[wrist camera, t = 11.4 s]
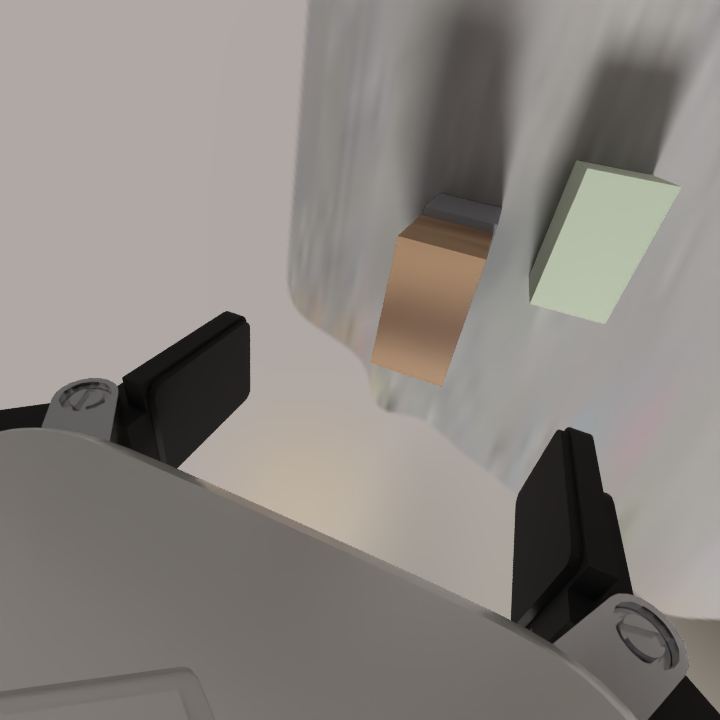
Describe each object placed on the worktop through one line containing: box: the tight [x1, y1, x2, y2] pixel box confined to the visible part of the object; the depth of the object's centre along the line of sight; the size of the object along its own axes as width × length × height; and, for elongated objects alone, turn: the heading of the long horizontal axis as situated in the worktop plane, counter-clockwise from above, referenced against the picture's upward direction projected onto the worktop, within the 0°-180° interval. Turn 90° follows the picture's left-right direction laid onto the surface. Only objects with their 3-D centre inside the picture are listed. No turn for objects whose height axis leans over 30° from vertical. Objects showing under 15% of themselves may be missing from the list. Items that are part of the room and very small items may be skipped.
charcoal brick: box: [422, 193, 502, 249], centre depth 25 cm, size 7×4×5 cm, turn 171°
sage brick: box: [529, 160, 681, 324], centre depth 22 cm, size 7×4×5 cm, turn 171°
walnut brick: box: [371, 215, 494, 387], centre depth 21 cm, size 7×4×5 cm, turn 171°
